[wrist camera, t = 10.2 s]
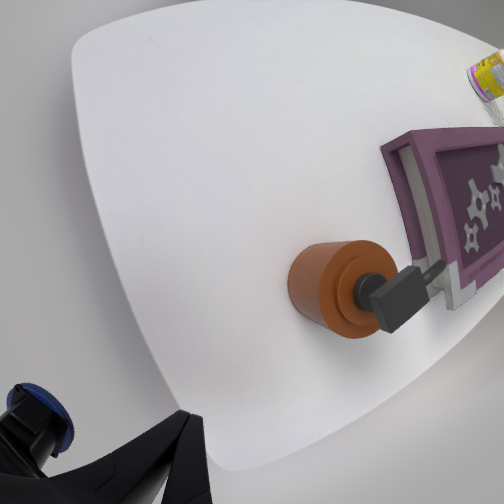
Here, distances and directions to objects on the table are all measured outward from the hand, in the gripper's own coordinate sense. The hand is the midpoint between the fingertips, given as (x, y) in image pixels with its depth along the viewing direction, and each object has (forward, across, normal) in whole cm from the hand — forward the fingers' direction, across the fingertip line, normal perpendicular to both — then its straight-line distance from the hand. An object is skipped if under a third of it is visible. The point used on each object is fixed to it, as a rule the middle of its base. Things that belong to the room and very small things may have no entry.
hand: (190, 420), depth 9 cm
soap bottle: (+16, -6, -2) cm, 17 cm away
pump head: (+8, -9, -5) cm, 13 cm away
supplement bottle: (+33, -28, -37) cm, 57 cm away
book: (+24, -23, -14) cm, 36 cm away
